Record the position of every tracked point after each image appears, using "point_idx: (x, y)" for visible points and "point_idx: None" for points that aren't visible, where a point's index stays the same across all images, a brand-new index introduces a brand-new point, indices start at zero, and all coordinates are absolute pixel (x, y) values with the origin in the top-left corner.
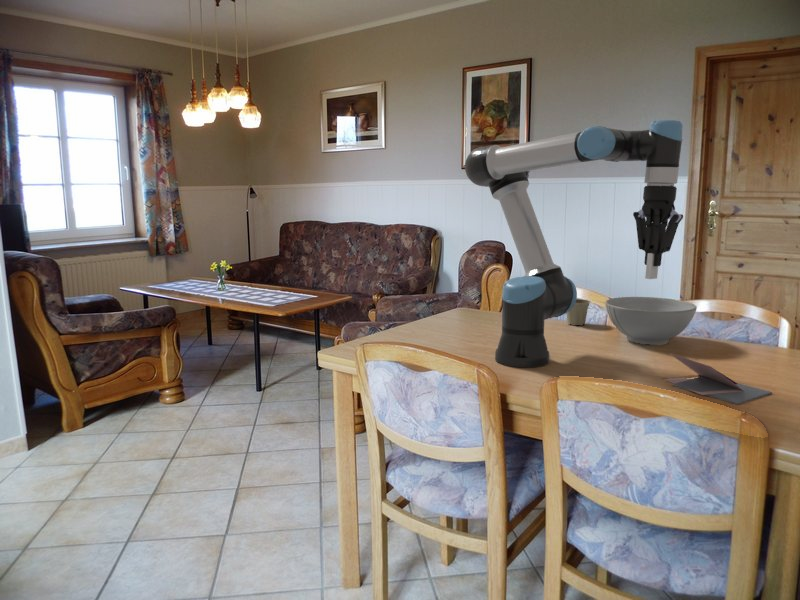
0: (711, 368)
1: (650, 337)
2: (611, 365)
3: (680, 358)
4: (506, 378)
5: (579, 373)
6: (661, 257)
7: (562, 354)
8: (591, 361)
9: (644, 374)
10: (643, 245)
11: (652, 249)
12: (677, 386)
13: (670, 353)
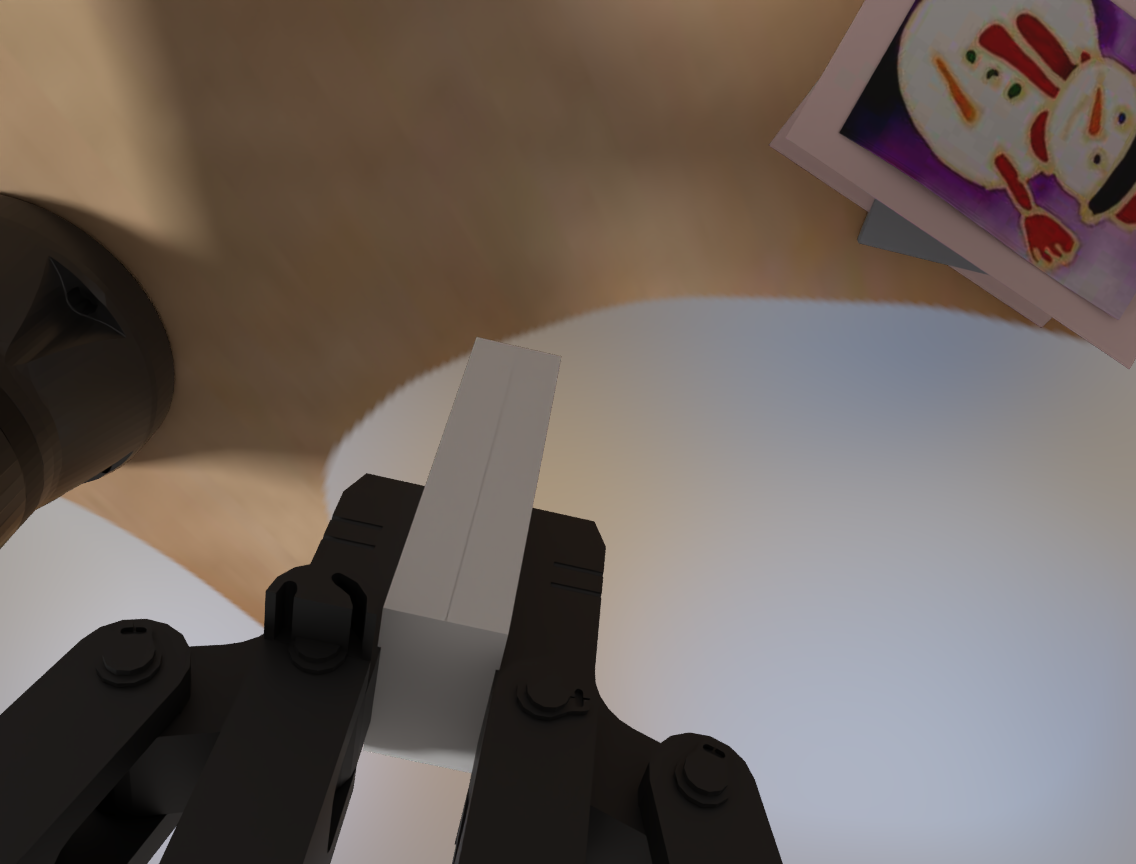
0: (1123, 318)
1: None
2: (392, 71)
3: (879, 146)
4: (232, 592)
5: (376, 349)
6: (597, 639)
7: (20, 43)
8: (252, 71)
9: (643, 124)
10: (166, 819)
11: (355, 716)
12: (888, 249)
13: (803, 148)
